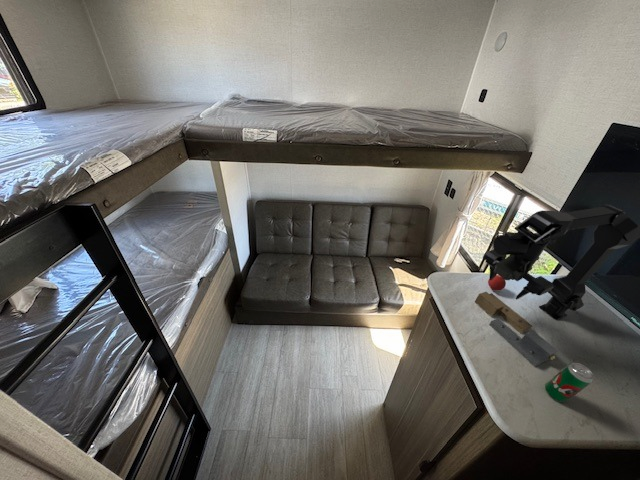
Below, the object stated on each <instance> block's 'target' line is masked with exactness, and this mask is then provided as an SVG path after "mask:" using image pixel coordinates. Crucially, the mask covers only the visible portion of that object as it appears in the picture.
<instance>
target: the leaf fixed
mask: <svg viewBox="0 0 640 480" xmlns="http://www.w3.org/2000/svg"><path fill="white" fill-rule="evenodd" d="M488 325H489V326H490V327H491V328H492V329H493V330H494V331H495V332H497V334H498V335H499V336H501V337H502V338H503V339H504V340H505V341H506V342H507V343H508V344H509V345H510V346H511V347H512V348H513V349H515V350H516V351H517V352H518V353H519V354H521V356H522V357H524V359H525V360H527V362H529V363H530V364H531V365H532V366H533V367H537V366H539V365H541V364H543V363H546V362H547V361H549V360H551V361H553V360H554V359H556V356H555V355H556V354H557V353H558V352H559V350H558V349H556V348H555V347H554V346H553V345H551V343H549V342H548V341H547V340H546V339H544V338H543V337H542V336H540V335H539V333H537V332H535V331H534V330H532V331H529V332H526V333H525V335H523V336H522V337H520V336H519V335H518V334H517V333H516V332H515V331H514V330H513V329H511V327H509V326H508V325H507V324H506V323H504V321H503V320H501V319H500V318H496V319H493V320H491V321H490V322H489V324H488Z"/></svg>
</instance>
